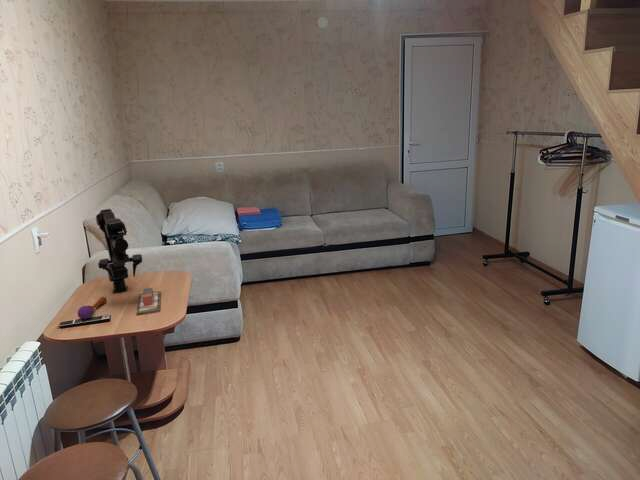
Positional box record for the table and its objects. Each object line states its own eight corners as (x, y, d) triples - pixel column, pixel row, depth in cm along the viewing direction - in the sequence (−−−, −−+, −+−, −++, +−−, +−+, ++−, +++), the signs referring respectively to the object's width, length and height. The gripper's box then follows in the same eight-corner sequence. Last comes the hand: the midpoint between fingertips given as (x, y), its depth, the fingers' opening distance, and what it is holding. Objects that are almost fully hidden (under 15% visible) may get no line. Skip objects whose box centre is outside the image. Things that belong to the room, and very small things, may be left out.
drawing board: (139, 296, 230) (139, 293, 230) (160, 292, 233) (160, 290, 233) (136, 315, 208) (136, 313, 208) (160, 311, 211) (159, 309, 211)
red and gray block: (145, 297, 225) (143, 288, 223) (153, 296, 226) (152, 287, 225) (143, 306, 215) (142, 297, 213) (153, 304, 216) (151, 295, 214)
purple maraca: (109, 294, 224) (88, 309, 204) (109, 306, 225) (88, 322, 205) (97, 293, 224) (75, 307, 204) (96, 304, 225) (74, 320, 205)
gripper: (93, 254, 207) (100, 287, 211) (138, 248, 212) (143, 280, 216) (97, 247, 217) (103, 279, 221) (139, 242, 222) (145, 273, 226)
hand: (123, 278), depth 221 cm, fingers open, 9 cm apart
